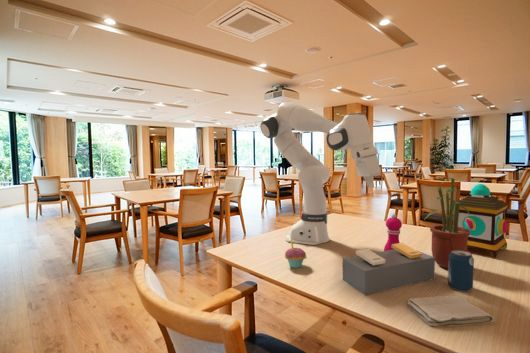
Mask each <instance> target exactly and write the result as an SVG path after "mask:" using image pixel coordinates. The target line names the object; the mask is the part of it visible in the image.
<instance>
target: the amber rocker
mask: <svg viewBox="0 0 530 353" xmlns="http://www.w3.org/2000/svg"><path fill="white" fill-rule="evenodd" d="M391 247H392V248H393V249H395V250H397V251H398V252H400V253H402V254H403V255H405V256H407V257H408V258H410V259H412V258H417V257H421V256H422V253H423V252H422V253H420V252H421V251H419V250H417V251H416V249H415V248H413V247H411V246H409V245H407V244H405V243H404V242H400V243H397V244H392V246H391ZM418 251H419V252H418Z"/></svg>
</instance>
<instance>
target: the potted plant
mask: <svg viewBox="0 0 530 353" xmlns="http://www.w3.org/2000/svg"><path fill="white" fill-rule="evenodd" d="M449 180H450V181H451V183H450V188H448V189H445V190H444V193H445V194H444V193H443V190H442V187H441V185H438V186H437V191H438V195H439V196H438V197H436V201H438V200H440V201H439V202H440V209H441V218H442V224H434V225H431V226H430V227H429V230H430V232H431V254H432V255H431V256H433V257H435V264H437V265H439V267H441V268H444V269H447V270H448V263H449V254H450V253H451V250H464V251H468V247H467V243H468V236H469V235H470V230H468V229H466V228H463V227H458V219H459V209H460V207H461V208H463V209H465V210H466V211H467V212H468V214H469V210H468V209H466V208H465V207H464V206H460V202H457V200H461V199H462V198H460V199H459V198H458V199H454V194H455V192H458V189H455V178H453V177H448V178H446V179H445V180H444V181H443V183H445V182H446V181H449ZM449 194H450V195H449ZM444 197H445V201H444ZM455 200H456V201H455ZM444 202H446V204H445V203H444ZM453 204H455V207H454V206H453ZM445 205H446V211H445ZM437 212H440V210H439V209H436V210H432V211H431V212H429V213H428V214H427V216H425V217H424V219H423V220H424V221H425V219H427V218H428V217H429V216H431V215H433V214H435V213H437ZM453 218H454V219H453Z"/></svg>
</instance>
